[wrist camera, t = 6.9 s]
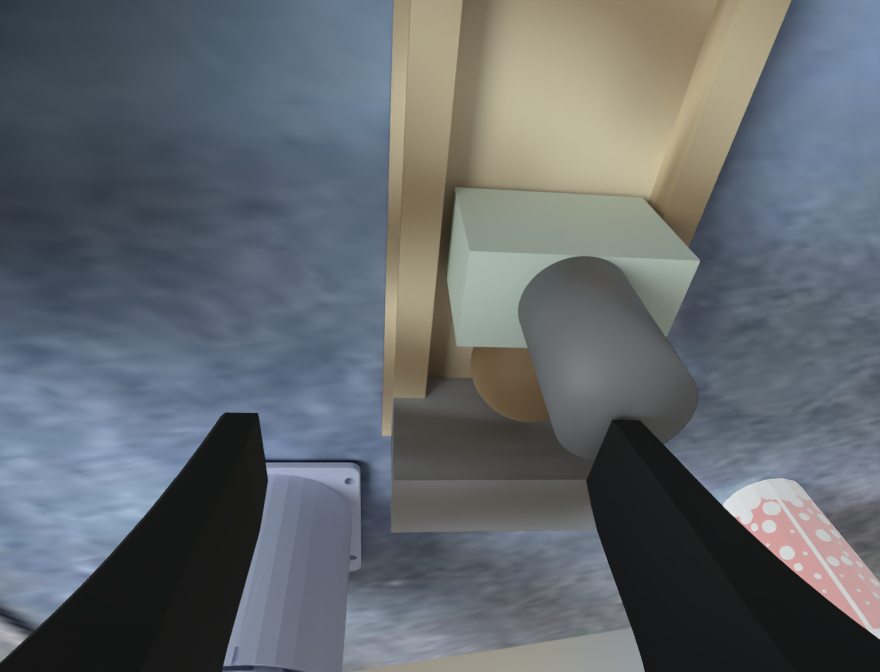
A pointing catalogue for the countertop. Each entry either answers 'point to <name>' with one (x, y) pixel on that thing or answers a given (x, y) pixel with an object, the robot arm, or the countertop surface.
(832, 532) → the beverage cup
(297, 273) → the countertop surface
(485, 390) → the nut
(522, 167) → the base
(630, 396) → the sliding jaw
